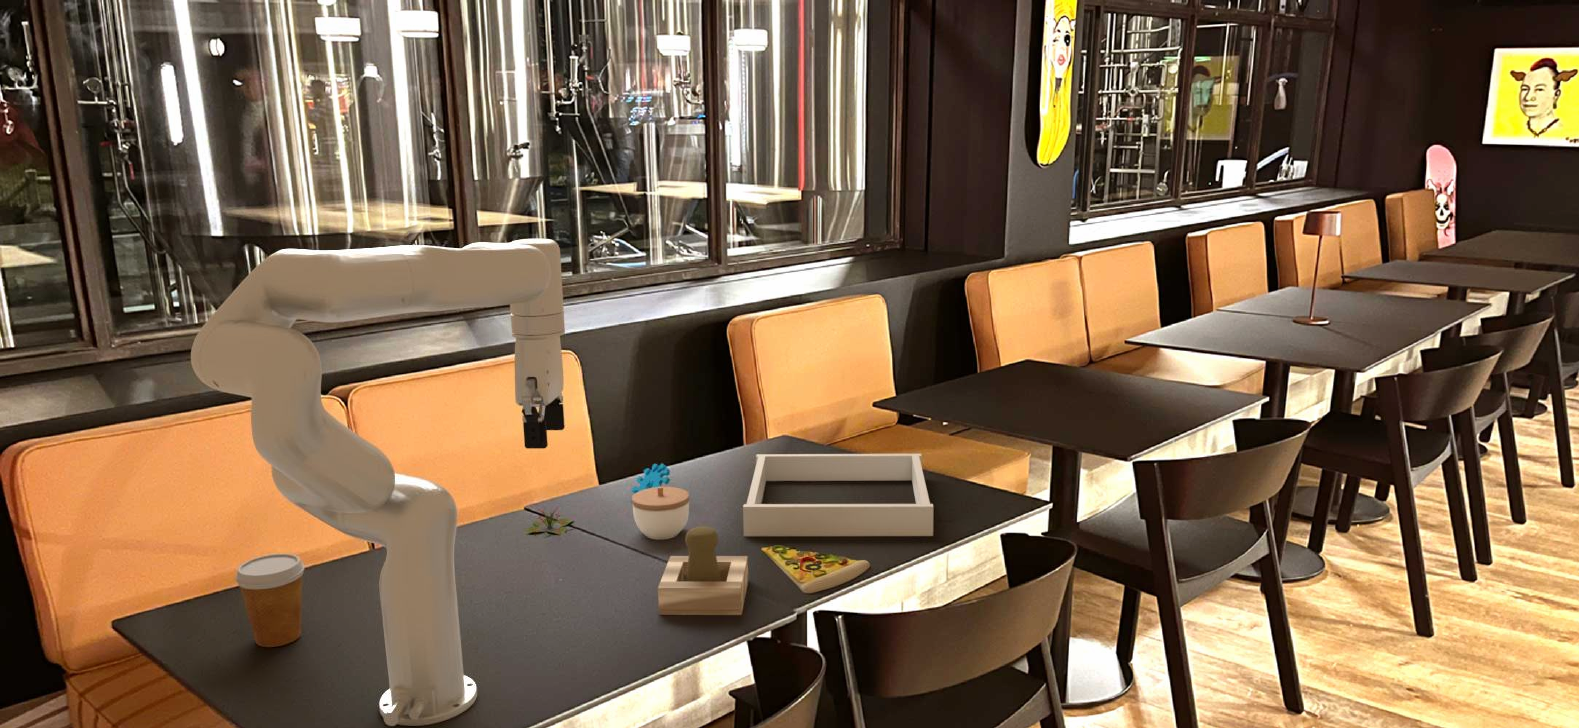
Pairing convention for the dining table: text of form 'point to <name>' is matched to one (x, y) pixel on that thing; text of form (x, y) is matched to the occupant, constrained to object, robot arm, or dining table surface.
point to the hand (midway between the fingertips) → (545, 438)
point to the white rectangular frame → (838, 516)
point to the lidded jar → (661, 511)
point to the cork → (702, 555)
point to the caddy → (704, 588)
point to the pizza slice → (815, 567)
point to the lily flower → (549, 523)
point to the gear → (652, 478)
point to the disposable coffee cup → (273, 597)
